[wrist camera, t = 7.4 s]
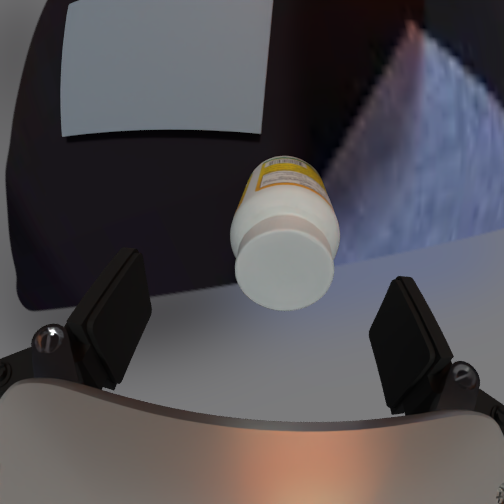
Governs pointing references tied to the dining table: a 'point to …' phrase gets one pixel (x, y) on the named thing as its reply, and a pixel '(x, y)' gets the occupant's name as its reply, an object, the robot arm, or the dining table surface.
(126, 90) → the felt mat
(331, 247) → the supplement bottle
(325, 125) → the dining table surface
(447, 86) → the dining table surface
